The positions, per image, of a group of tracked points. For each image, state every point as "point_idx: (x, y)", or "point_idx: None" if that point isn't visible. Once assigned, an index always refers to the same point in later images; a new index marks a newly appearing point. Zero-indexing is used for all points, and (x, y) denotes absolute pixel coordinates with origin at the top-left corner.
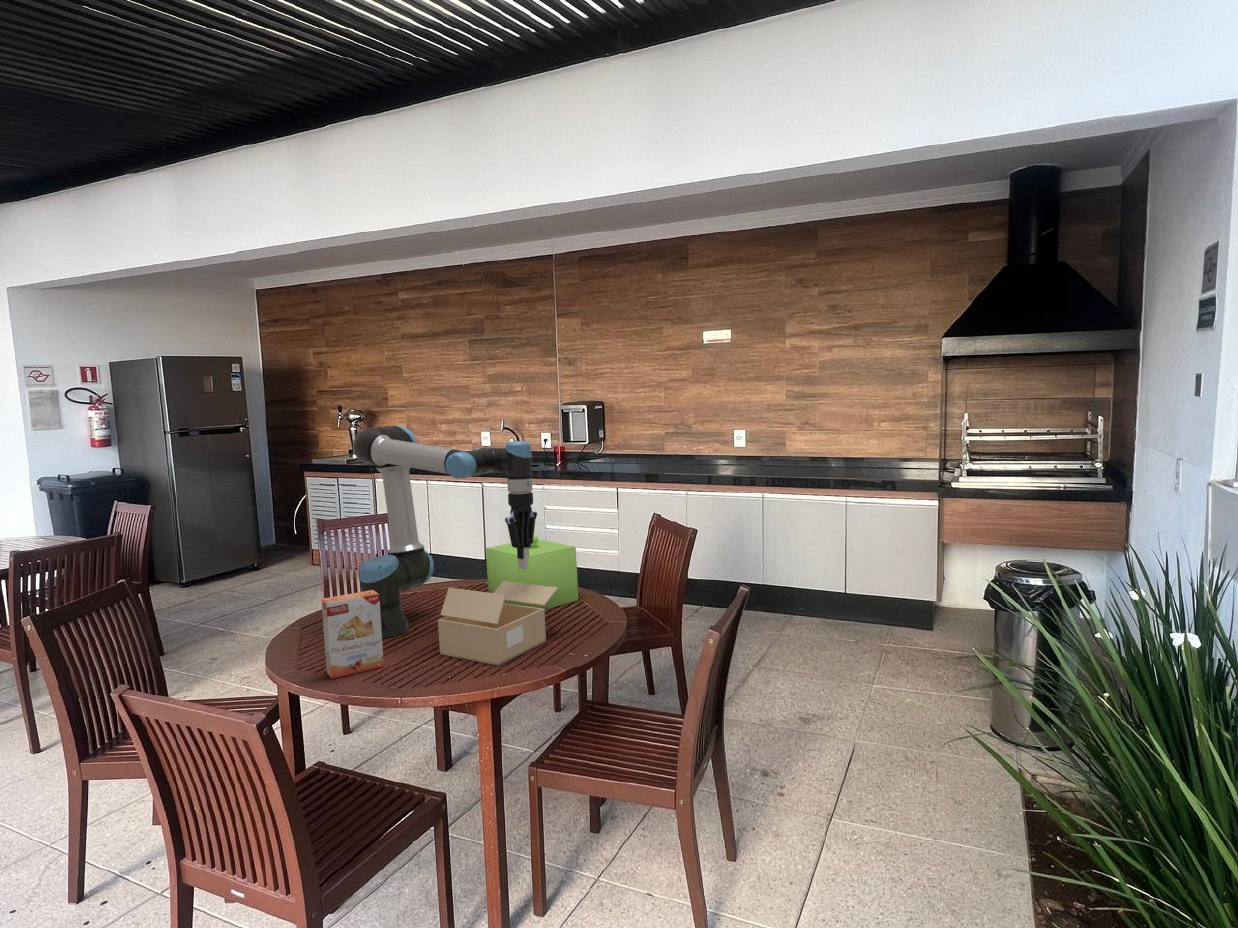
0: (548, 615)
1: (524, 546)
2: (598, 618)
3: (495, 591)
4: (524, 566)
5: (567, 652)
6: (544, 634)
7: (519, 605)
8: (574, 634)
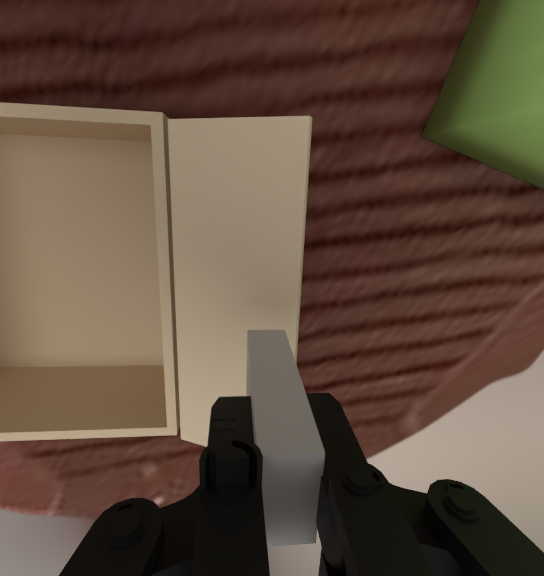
0: (419, 220)
1: (318, 516)
2: (427, 377)
3: (213, 125)
4: (247, 394)
5: (152, 457)
6: None
7: (169, 320)
8: None
